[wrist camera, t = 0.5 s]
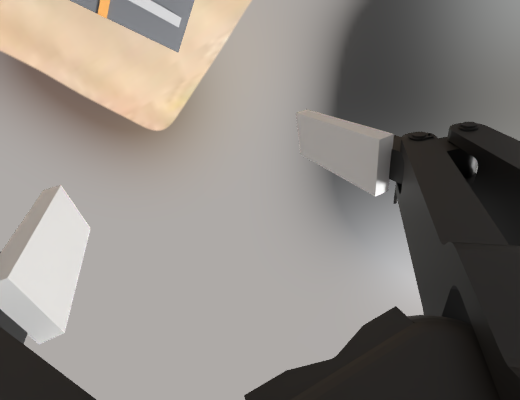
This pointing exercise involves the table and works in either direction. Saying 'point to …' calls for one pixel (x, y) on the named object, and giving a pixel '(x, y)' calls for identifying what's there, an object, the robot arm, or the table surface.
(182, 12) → the slider board
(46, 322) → the robot arm
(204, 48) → the table surface
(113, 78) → the table surface
